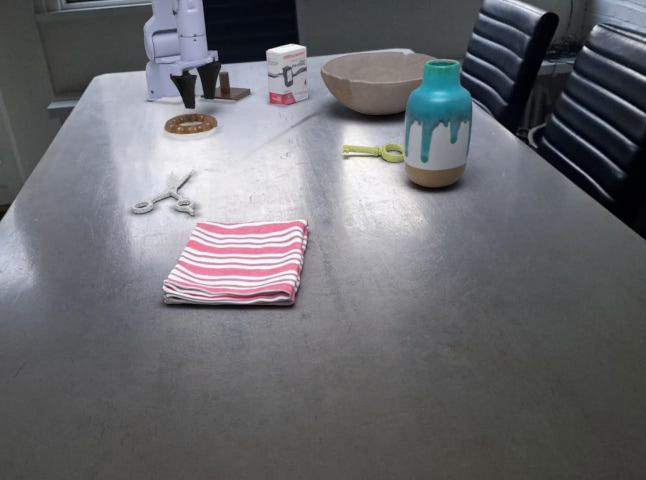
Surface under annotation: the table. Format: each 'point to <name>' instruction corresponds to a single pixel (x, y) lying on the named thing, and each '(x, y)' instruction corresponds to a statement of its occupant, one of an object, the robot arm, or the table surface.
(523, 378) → the table surface
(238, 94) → the brown peg stand
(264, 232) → the dish towel
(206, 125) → the brown beaded ring
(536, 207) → the table surface
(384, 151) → the key
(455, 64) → the vase
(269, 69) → the ink box
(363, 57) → the bowl
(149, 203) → the scissors
